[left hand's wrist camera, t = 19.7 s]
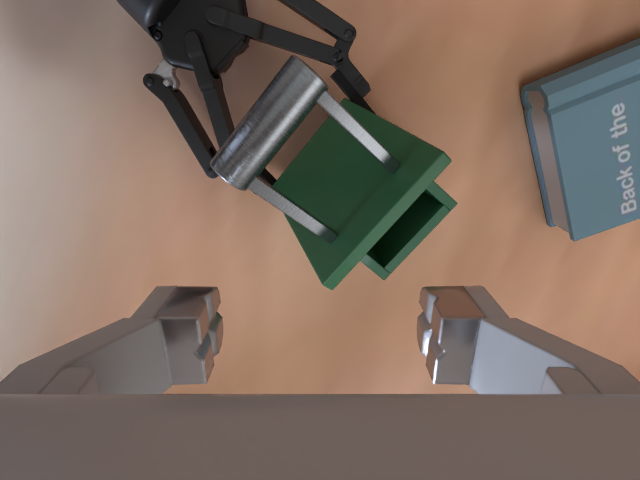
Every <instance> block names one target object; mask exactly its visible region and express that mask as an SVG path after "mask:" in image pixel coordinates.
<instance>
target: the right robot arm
mask: <svg viewBox="0 0 640 480" xmlns="http://www.w3.org/2000/svg"><path fill="white" fill-rule="evenodd" d="M279 1H280V2H281V3H283V4H284V5H286V6H287V7H289V8H290V9H292V10H293V11H295V12H296V13H298V14H299V15H301V16H302V17H304V18H305V19H307V20H308V21H310V22H311V23H313V24H314V25H316V26H317V27H319V28H320V29H322V30H323V31H325V32H326V33H328V34H329V35H331V36H332V37H334V38H335V39H337V42H336V44H335V46H334V47H332V46H329V45H326V44H323V43H320V42H317V41H315V40H312V39H309V38H306V37H303V36H300V35H297V34H294V33H291V32H288V31H285V30H282V29H279V28H276V27H273V26H270V25H268V24H265V23H263V22H260V21H258V20H255V19H252V18H249V17H248V13H247V7H246V1H245V0H117V2H118V3H119V4H120V5H121V6H122V7H123V8H124V9H125V10H126V11H127V12H128V13H129V14H130V15H131V16H132V17H133V18H134V19H135V20H136V22H137V23H138V24H139V25H140V26H141V27H142V28H143V29H144V30H145V31H146V32H147V33H148V34H149V35H150V36H151V37H152V38H153V39H154V40H155V41H156V42H157V44H158V45H159V47H160V49H161V52H162V55H163V57H164V59H163V60H162V61H161V63H160V64H159V65H158V67H157V68H156V69H155V71H154V72H153V73H152V74H146V75H145V76H144V78H143V83H144V85H145V86H146V87H147V88H148V89H149V90H150V91H151V92H152V93H153V94H155V95H156V96H157V97H158V98H159V99H160V100H161V101H162V102H163V103H164V105H165V106H166V108H167V110H168V111H169V113H170V115H171V116H172V118H173V120H174V121H175V123H176V125H177V126H178V128H179V130H180V131H181V133H182V135H183V136H184V138H185V140H186V141H187V143H188V145H189V146H190V148H191V150H192V151H193V153H194V155H195V156H196V158H197V160H198V161H199V163H200V165H201V166H202V168H203V170H204V171H205V173H206V175H207V176H208V177H210V178H216V177H217V176H219V175H218V174H217V173H216V172H215V171H214V170H213V168H212V167H211V165H210V161H211V160H212V159H213V157H214V156H215V155H216V153H217V151H216V149H215V147H214V146H213V144H212V142H211V140H210V139H209V137H208V135H207V133H206V132H205V130H204V128H203V127H202V125H201V123H200V121H199V120H198V118H197V116H196V114H195V113H194V111H193V109H192V107H191V106H190V104H189V102H188V101H187V99H186V97H185V96H184V94H183V93H182V92H181V91H180V90H179V87H180V81H179V79H178V78H177V76H176V69H177V68H182V69H187V70H191V71H194V72H195V75H196V79H197V82H198V85H199V88H200V90H201V91H202V93H203V96H204V99H205V102H206V105H207V109H208V112H209V115H210V118H211V122H212V125H213V128H214V131H215V135H216V138H217V141H218V144H219V148H221V147H222V145H223V144H224V143H225V142H226V140H227V139H228V138H229V136H230V135H231V134H232V132H233V131H234V130H235V129H234V126H233V122H232V119H231V115H230V112H229V108H228V105H227V101H226V98H225V94H224V91H223V83H222V80H221V76H220V74H221V73H223V72H224V73H225V72H226V71H227V70H228V69H229V68H230V66H231V65H232V63H233V61H234V59H235V57H237V56H238V55H240V54H242V53H243V52H244V51H245V50H246V49H247V48H248V47H249V45H248V44H249V42H250V39H253V40H256V41H259V42H262V43H266V44H269V45H272V46H275V47H278V48H281V49H284V50H287V51H290V52H293V53H296V54H299V55H302V56H305V57H308V58H311V59H314V60H317V61H320V62H323V63H326V64H329V65H332V66H334V68H335V69H336V71H335V72H334V73H333V74H332V75H331V76H330V77H331V78H332V79H333V80H334V81H335V83H336V84H337V85H338V86H339V87H340V88H341V90H342V91H343V92H344V93H345V94H346V96H347V97H348V98H349V99H350V100H351V102H353V103H355V104H357V105H359V106H361V107H362V108H364V109H366V110H368V111H370V112H372V113H374V111H373V110H372V109H371V108H370V107H369V105H368V104H367V103H366V102H365V101H364V99H363V97H364V96H365V95H366V94H367V93H368V92H370V91H371V90H370V86H369V84H368V82H367V81H366V80H365V79H364V77H363V76H362V75H361V74H360V73H359V71H358V70H357V69H356V68H355V66H354V65H353V64H352V63H351V62H350V60H349V57H348V52H349V49H350V47H351V45H352V43H353V41H354V39H355V37H356V29H355V28H354V27H353V26H352V25H351V24H349V23H348V22H346V21H345V20H343V19H342V18H340V17H339V16H337V15H336V14H335V13H333V12H332V11H330V10H329V9H327V8H326V7H324V6H323V5H321V4H320V3H319V2H317V1H316V0H279ZM374 114H375V113H374ZM375 115H376V114H375ZM259 177H260V178H262V179H263V180H265V181H266V182H267V183H269V184H270V185H272V186H273V185H274V183H275V182H276V181H277V180H276V179H275V178H274V177H273V176H272V175H271V174H270V173H269V172H268V171H267V170H266V169H265V168H264V169H263V171H262V172H261V173H260V174H259ZM253 193H254V192H253Z"/></svg>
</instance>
